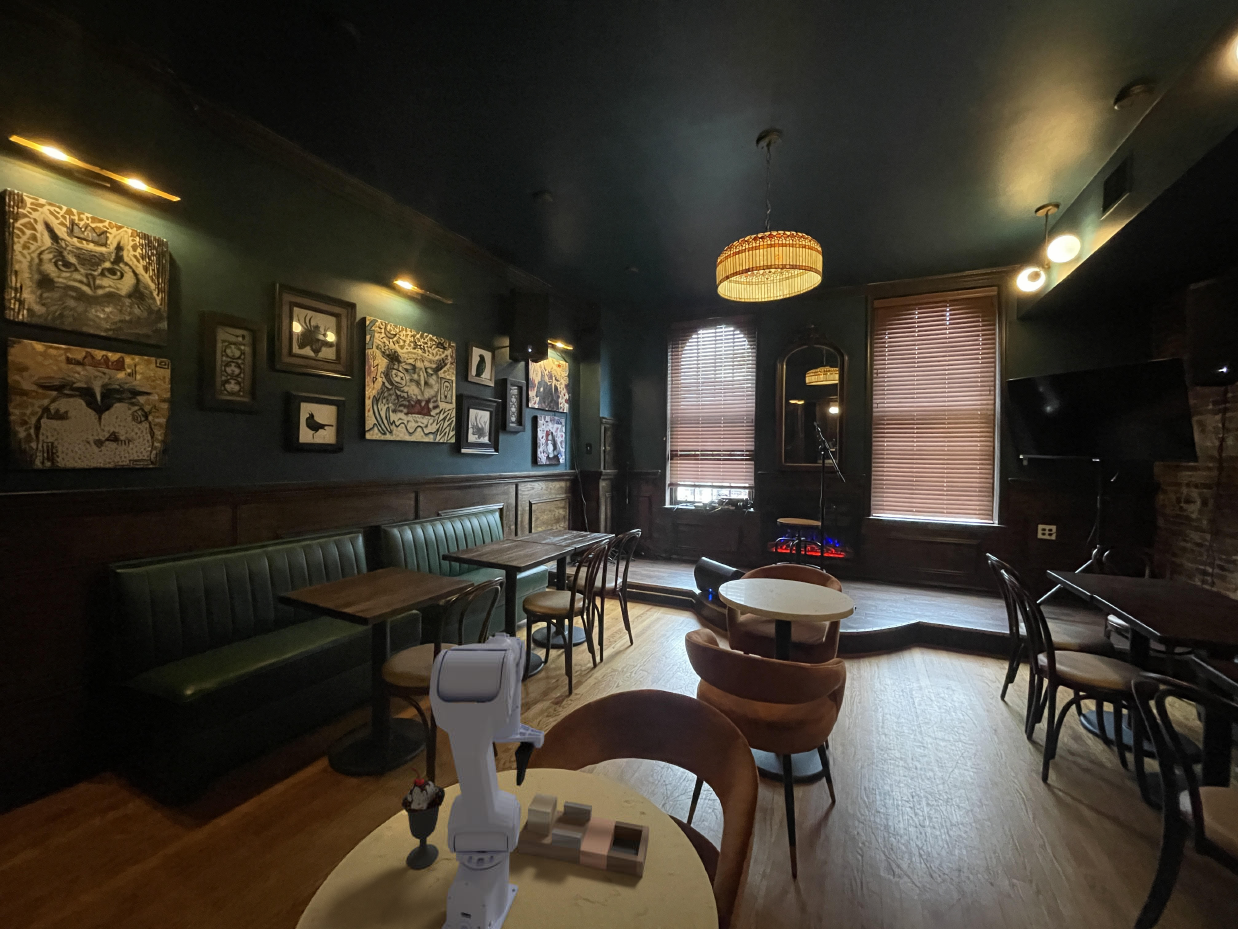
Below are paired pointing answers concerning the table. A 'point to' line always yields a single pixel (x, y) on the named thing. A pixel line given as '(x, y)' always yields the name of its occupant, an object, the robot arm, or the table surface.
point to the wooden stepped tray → (589, 841)
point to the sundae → (423, 819)
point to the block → (542, 813)
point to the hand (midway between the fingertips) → (502, 779)
